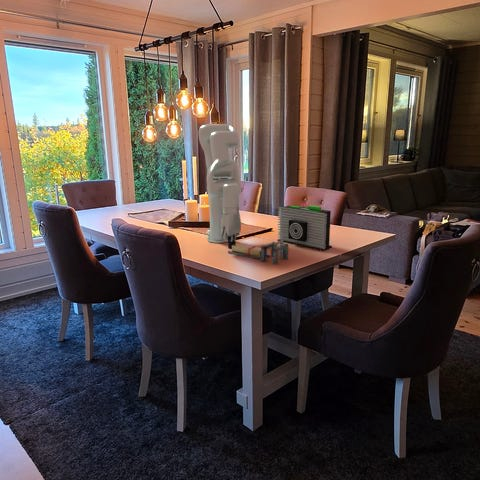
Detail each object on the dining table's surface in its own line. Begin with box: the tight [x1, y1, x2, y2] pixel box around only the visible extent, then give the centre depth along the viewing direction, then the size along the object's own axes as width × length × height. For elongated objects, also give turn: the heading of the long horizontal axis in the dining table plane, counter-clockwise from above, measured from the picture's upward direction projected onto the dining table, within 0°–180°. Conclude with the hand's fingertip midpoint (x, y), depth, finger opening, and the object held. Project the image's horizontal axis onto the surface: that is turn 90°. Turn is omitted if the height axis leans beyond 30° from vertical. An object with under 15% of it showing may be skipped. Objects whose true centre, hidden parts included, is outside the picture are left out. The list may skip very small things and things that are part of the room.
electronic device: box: [277, 204, 333, 252], centre depth 199 cm, size 28×11×20 cm, turn 45°
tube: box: [231, 243, 261, 257], centre depth 185 cm, size 16×4×4 cm, turn 51°
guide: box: [227, 250, 271, 261], centre depth 185 cm, size 19×7×1 cm, turn 53°
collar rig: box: [260, 240, 289, 265], centre depth 176 cm, size 8×11×8 cm
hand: (231, 248), depth 191 cm, fingers closed
